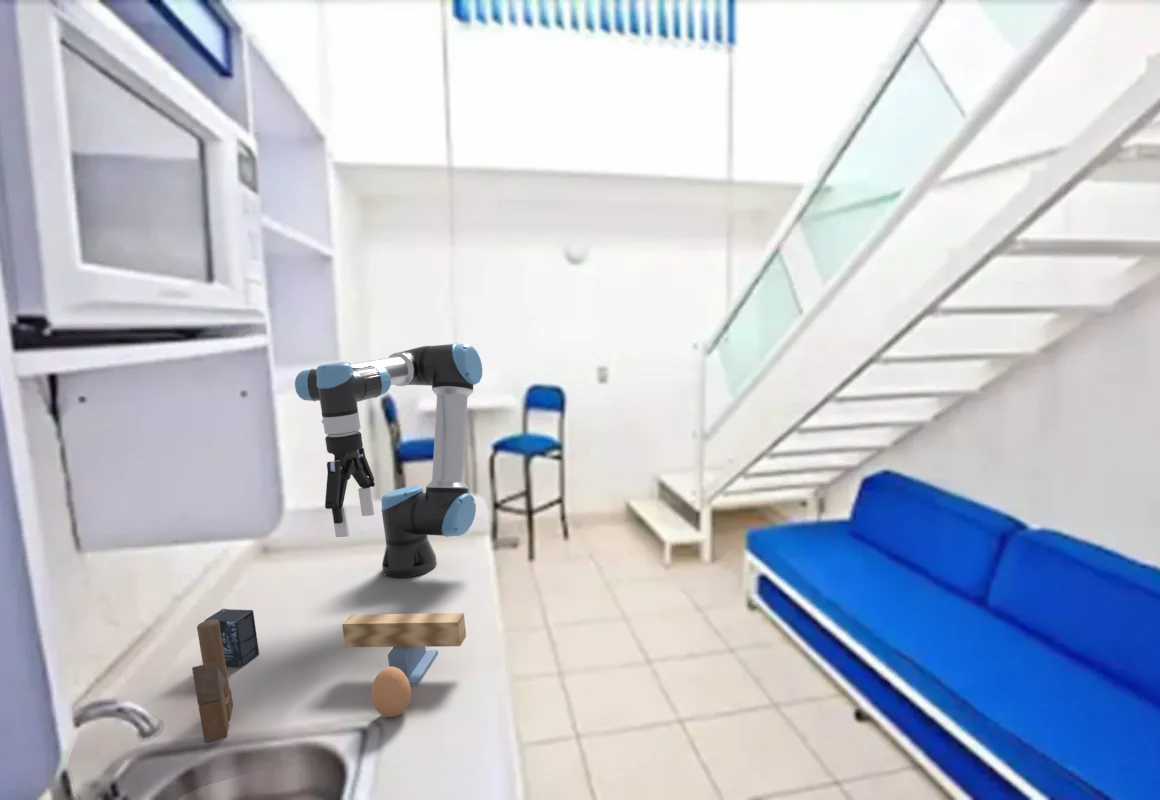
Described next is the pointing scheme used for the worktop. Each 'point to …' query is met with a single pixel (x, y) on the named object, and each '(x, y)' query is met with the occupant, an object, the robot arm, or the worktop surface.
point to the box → (237, 636)
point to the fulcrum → (412, 661)
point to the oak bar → (404, 630)
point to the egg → (391, 692)
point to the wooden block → (212, 683)
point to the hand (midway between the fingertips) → (356, 525)
